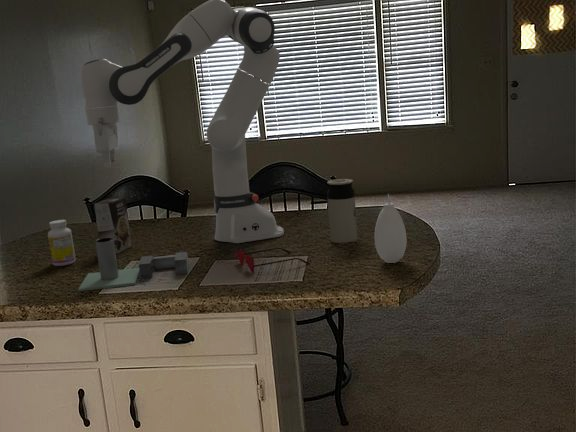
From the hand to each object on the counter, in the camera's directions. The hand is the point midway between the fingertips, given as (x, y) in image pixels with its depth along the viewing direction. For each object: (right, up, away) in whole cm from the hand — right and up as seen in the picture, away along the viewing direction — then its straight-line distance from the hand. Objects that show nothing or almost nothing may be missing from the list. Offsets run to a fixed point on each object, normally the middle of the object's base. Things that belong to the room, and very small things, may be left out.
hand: (110, 165), depth 179 cm
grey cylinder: (+5, -31, -17) cm, 36 cm away
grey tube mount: (+19, -30, -13) cm, 38 cm away
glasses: (+48, -28, -14) cm, 57 cm away
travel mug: (+69, -22, +4) cm, 72 cm away
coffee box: (-2, -26, +15) cm, 30 cm away
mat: (+5, -32, -18) cm, 37 cm away
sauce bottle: (+78, -27, -23) cm, 86 cm away
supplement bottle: (-15, -29, +4) cm, 33 cm away
